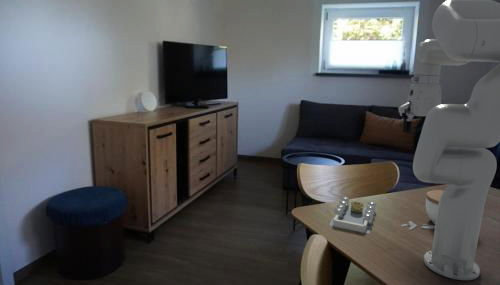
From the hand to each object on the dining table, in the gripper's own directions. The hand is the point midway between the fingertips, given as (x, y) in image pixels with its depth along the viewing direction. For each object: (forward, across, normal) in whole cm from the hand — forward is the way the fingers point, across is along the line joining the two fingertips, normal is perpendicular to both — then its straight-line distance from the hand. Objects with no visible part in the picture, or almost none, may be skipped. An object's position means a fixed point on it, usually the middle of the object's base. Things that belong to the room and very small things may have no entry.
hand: (419, 132), depth 122 cm
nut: (+27, -21, -1) cm, 34 cm away
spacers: (+27, -22, -3) cm, 35 cm away
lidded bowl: (+28, +5, -11) cm, 31 cm away
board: (+28, -24, -5) cm, 37 cm away
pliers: (+29, -5, -11) cm, 31 cm away
